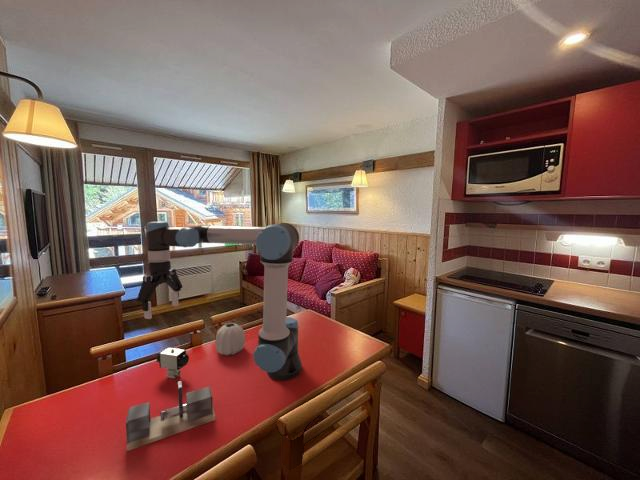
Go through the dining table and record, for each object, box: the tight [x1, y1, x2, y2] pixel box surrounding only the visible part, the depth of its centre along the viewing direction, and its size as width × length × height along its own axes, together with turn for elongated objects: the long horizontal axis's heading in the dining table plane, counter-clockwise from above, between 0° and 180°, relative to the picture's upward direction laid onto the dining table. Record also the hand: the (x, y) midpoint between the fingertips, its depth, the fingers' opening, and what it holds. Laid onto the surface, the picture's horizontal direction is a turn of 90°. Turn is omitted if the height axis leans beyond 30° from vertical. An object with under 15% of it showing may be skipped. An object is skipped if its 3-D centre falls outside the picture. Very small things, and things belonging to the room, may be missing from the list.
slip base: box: [125, 385, 216, 452], centre depth 86 cm, size 24×9×8 cm, turn 120°
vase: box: [215, 322, 246, 356], centre depth 130 cm, size 14×14×13 cm
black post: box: [159, 380, 188, 421], centre depth 87 cm, size 14×5×11 cm, turn 120°
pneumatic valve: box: [156, 347, 190, 380], centre depth 110 cm, size 6×12×12 cm, turn 78°
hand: (162, 311), depth 108 cm, fingers open, 13 cm apart
